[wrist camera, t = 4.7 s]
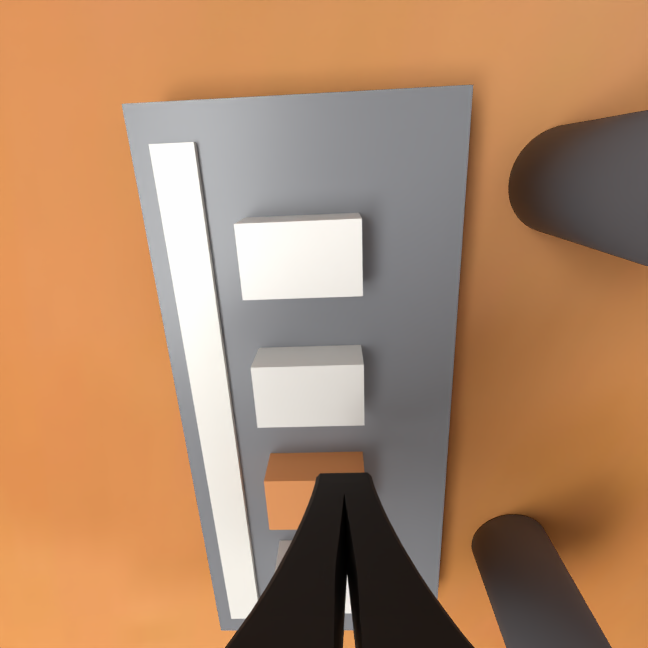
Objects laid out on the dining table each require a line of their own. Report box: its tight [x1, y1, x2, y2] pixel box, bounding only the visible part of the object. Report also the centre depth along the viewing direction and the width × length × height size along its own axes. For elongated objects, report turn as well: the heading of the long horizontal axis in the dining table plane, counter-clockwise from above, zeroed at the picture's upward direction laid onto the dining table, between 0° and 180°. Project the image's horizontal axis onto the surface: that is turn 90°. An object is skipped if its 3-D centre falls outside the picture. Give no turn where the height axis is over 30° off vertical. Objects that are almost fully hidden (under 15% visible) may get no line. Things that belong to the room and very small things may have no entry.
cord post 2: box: [472, 515, 611, 648], centre depth 15 cm, size 3×3×7 cm
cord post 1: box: [509, 110, 648, 266], centre depth 10 cm, size 3×3×7 cm
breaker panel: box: [122, 85, 473, 630], centre depth 15 cm, size 20×9×3 cm, turn 3°
